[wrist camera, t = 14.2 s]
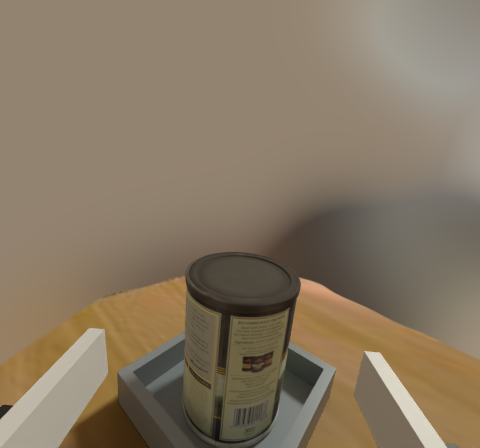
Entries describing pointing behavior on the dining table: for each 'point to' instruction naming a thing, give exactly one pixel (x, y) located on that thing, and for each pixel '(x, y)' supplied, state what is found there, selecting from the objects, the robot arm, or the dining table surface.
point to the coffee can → (236, 345)
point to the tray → (171, 386)
